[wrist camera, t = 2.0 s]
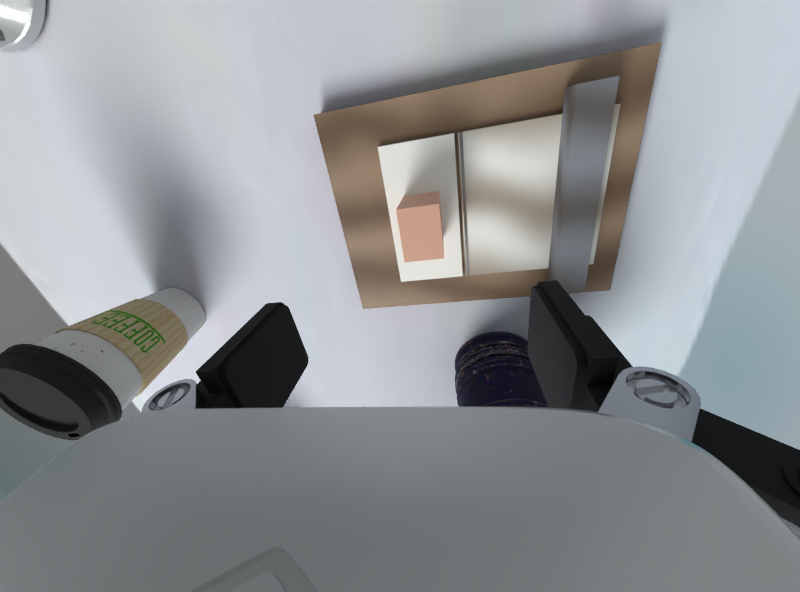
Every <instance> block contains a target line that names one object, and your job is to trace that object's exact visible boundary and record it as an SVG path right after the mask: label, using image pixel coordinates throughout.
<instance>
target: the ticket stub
mask: <svg viewBox="0 0 800 592" xmlns="http://www.w3.org/2000/svg"><path fill="white" fill-rule="evenodd" d="M378 153H379V158H380V164H381V170H382V176H383V181H384V187H385V193H386V199H387V204H388V210H389V216H390V222H391V227H392V233H393V239H394V245H395V250H396V256H397V262H398V268H399V273H400V279H401V282H405V281H416V280H427V279H438V278H449V277H460V276H463V271H462V255H461V238H460V222H459V206H458V189H457V173H456V156H455V140H454V133H453V134H447V135H442V136H436V137H431V138H425V139H419V140H414V141H408V142H403V143H397V144H391V145H386V146H380V147H378Z"/></svg>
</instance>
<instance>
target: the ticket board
mask: <svg viewBox="0 0 800 592" xmlns="http://www.w3.org/2000/svg"><path fill="white" fill-rule="evenodd" d="M661 43H662V42H661ZM661 43H656V44H651V45H646V46H641V47H637V48H632V49H627V50H622V51H617V52H613V53H608V54H603V55H598V56H593V57H589V58H584V59H579V60H574V61H569V62H565V63H560V64H555V65H550V66H545V67H541V68H536V69H531V70H526V71H522V72H517V73H512V74H507V75H502V76H498V77H493V78H488V79H483V80H478V81H474V82H469V83H464V84H459V85H454V86H450V87H445V88H440V89H435V90H430V91H426V92H421V93H416V94H411V95H406V96H402V97H397V98H392V99H387V100H382V101H378V102H373V103H368V104H363V105H358V106H354V107H349V108H344V109H339V110H334V111H330V112H325V113H320V114H315V115H314V118H315V122H316V126H317V130H318V134H319V138H320V142H321V146H322V150H323V153H324V157H325V161H326V165H327V169H328V173H329V177H330V181H331V185H332V189H333V193H334V197H335V201H336V204H337V208H338V212H339V216H340V220H341V224H342V228H343V232H344V236H345V240H346V244H347V248H348V251H349V255H350V259H351V263H352V267H353V271H354V275H355V279H356V283H357V287H358V291H359V295H360V299H361V302H362V306H363V309H365V308H379V307H392V306H405V305H418V304H432V303H445V302H458V301H471V300H485V299H498V298H511V297H524V296H531V288H532V286H537V283H538V282H540V281H552V280H557V281H558V282H559V283H560V285H561V286H562V287H563V288H564V290H565V291H566V292H567V293H577V292H591V291H604V290H610V287H611V282H612V277H613V273H614V268H615V263H616V258H617V254H618V249H619V244H620V239H621V234H622V230H623V225H624V220H625V215H626V210H627V206H628V201H629V196H630V191H631V186H632V182H633V177H634V172H635V167H636V162H637V158H638V153H639V148H640V143H641V139H642V134H643V129H644V124H645V119H646V115H647V110H648V105H649V100H650V95H651V91H652V86H653V81H654V76H655V71H656V67H657V62H658V57H659V52H660V47H661ZM453 133H454V140H455V156H456V173H457V189H458V206H459V222H460V238H461V255H462V271H463V276H460V277H449V278H438V279H427V280H416V281H405V282H401V279H400V273H399V268H398V262H397V256H396V250H395V245H394V239H393V233H392V227H391V222H390V216H389V210H388V204H387V199H386V193H385V187H384V181H383V176H382V170H381V164H380V158H379V153H378V147H380V146H386V145H391V144H397V143H403V142H408V141H414V140H419V139H425V138H431V137H436V136H442V135H447V134H453Z"/></svg>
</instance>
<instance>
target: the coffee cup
mask: <svg viewBox="0 0 800 592" xmlns="http://www.w3.org/2000/svg"><path fill="white" fill-rule="evenodd" d="M205 320H206V315H205V312H204V309H203V307H202V306H201V304H200V303H199V302H198V301H197V300H196V299H195V298H194V297H193V296H192V295H190V294H189V293H187V292H185V291H183V290H180V289H177V288H165V289H163V290H161V291H158V292H156V293H153V294H151V295H148V296H146V297H144V298H141V299H136V300H133V301H130V302H128V303H125V304H123V305H120V306H118V307H115V308H113V309H111V310H108V311H106V312H103V313H101V314H98V315H96V316H93V317H91V318H88V319H86V320H83V321H81V322H78V323H76V324H73V325H71V326H68V327H66V328H64V329H61V330H59V331H57V332H56V333H55V334H54V335H52V336H49V337H47V338H44V339H42V340H40V341H37V342H35V343H32V344H19V345H14V346H11V347H9V348H8V349H6V350H5V351H4V352H2V353H1V354H0V408H1V409H3V410H4V411H5V412H6V413H8V414H9V415H11V416H12V417H13V418H15V419H17V420H18V421H20V422H22V423H23V424H25V425H27V426H29V427H31V428H33V429H35V430H37V431H39V432H42V433H45V434H47V435H50V436H53V437H57V438H62V439H67V440H78V439H80V438H81V437H83V436H85V435H86V434H88V433H90V432H92V431H94V430H96V429H98V428H101V427H103V426H105V425H108V424H110V423H113V422H116V421H119V420H120V418H121V416H122V410H123V409H124V408H125V407H126V406H127V405H128V404H129V403H130V402H131V401H132V400H133V398H134V397H135V396H137V395H139V394H140V393H142V392H143V390H144V389H145V388H146V387H147V386H148V385H149V384H150V383H151V382H152V381H153V380H154V379H155V378H156V377H157V375H158V374H159V373H160V372H161V371H162V370H163V369H164V368H165V367H166V366H167V365H168V364H169V363H170V362H171V361H172V359H173V358H174V357H175V356H176V355H177V354H178V353H179V352H180V351H181V350H182V349H183V348H184V347H185V345H186V344H187V342H188V341H189V340H190V339H191V338H192V336H193V335H194V334H195V333H196V332H197V331H198V330H199V329H200V328H201V327H202V326H203V325H204V323H205Z"/></svg>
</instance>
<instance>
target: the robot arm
mask: <svg viewBox="0 0 800 592" xmlns="http://www.w3.org/2000/svg"><path fill="white" fill-rule="evenodd" d="M45 7H46V0H0V50H2V51H17V50H21V49H24V48H26V47H27V46H29V45H31V44H32V43H33V42H34V41H35V39H36V38H37V37H38V35H39V34H40V32H41V29H42V26H43V23H44V19H45ZM528 356H529V359H530V361H531V364H532V366H533V369H534V371H535V374H536V376H537V379H538V382H539V384H540V387H541V389H542V392H543V394H544V397H545V399H546V402H547V404H548V407H549V408H542V407H284V408H283V406H284V404H285V402H286V401H287V399H288V397H289V396H290V394H291V392H292V391H293V389H294V387H295V385H296V384H297V382H298V380H299V379H300V377H301V375H302V373H303V372H304V370H305V368H306V367H307V364H308V356H307V353H306V350H305V348H304V345H303V343H302V340H301V338H300V335H299V333H298V330H297V327H296V325H295V322H294V320H293V317H292V315H291V312H290V310H289V308H288V306H286V305H284V304H283V303H282V302H279V303H267V304H266V305H265V306H264V307H263V308H262V309H260V310H259V311H258V312H257V313H256V314H255V315H254V316H253V317H252V318H251V319H250V320H249V321H248V322H247V323H246V324H245V325H244V326H243V327H242V328H241V329H240V330H239V331H238V332H237V333H236V334H235V335H233V336H232V337H231V338H230V339H229V340H228V341H227V342H226V343H225V344H224V345H223V346H222V347H221V348H220V349H219V350H218V351H217V352H216V353H215V354H214V355H213V356H212V357H211V358H210V359H209V360H207V361H206V362H205V363H204V364H203V365H202V366H201V367H200V368H199V369H198V370H197V371H196V373H197V375H198V376H199V378H200V380H201V381H200V382H199V383H198V384H196V382H195V381H194V380H192V379H185V380H180V381H177V382H174V383H171V384H169V385H167V386H165V387H164V388H162V389H160V390H159V391H157V392H156V393H155V394H154V395H152V396H151V397H150V398H149V399H148V400H147V401H146V403H145V404H144V406H143V408H142V412H141V415H137V416H132V417H129V418H125V419H122V420H119V421H116V422H113V423H110V424H108V425H105V426H103V427H101V428H98V429H96V430H94V431H92V432H90V433H88V434H86V435H85V436H83V437H81V438H80V439H78V440H77V441H76V442H74V443H73V444H71V445H70V446H69V447H67V448H66V449H65V450H64V451H63V452H61V453H60V454H59V455H57V456H56V457H55V458H53V459H52V460H51V461H50V462H49V463H47V464H46V465H45V466H43V467H42V468H41V469H40V470H38V472H36V473H35V474H34V475H32V476H31V477H30V478H29V479H27V480H26V481H25V482H24V483H23V484H21V485H20V486H19V487H18V488H16V489H15V490H14V491H13V492H12V493H10V494H9V495H8V496H7V497H6V498H5V499H3V500H2V501H1V502H0V592H800V450H798V449H795V448H793V447H791V446H788V445H786V444H784V443H781V442H779V441H776V440H774V439H772V438H769V437H767V436H765V435H762V434H760V433H757V432H755V431H753V430H750V429H748V428H745V427H743V426H741V425H738V424H736V423H733V422H731V421H729V420H726V419H724V418H721V417H719V416H717V415H714V414H712V413H710V412H707V411H705V410H702V409H700V406H701V401H700V396H699V395H698V393H697V392H696V390H695V389H694V388H693V387H692V386H690V385H689V384H688V383H687V382H686V381H684V380H682V379H681V378H679V377H677V376H675V375H673V374H671V373H668V372H666V371H663V370H659V369H655V368H650V367H632V366H631V364H630V363H629V362H628V361H627V359H626V358H625V357H624V356H623V355H622V353H621V352H620V351H619V350H618V349H617V347H616V346H615V345H614V344H613V343H612V341H611V340H610V339H609V338H608V336H607V335H606V334H605V333H604V332H603V330H602V329H601V328H600V327H599V326H598V324H597V323H596V322H595V321H594V319H593V318H591V317H590V316H585V315H584V314H583V312H582V311H581V310H580V309H579V307H578V306H577V305H576V304H575V302H574V301H573V300H572V299H571V297H570V296H569V295H568V293H567V292H566V291H565V290H564V288H563V287H562V286H561V285H560V283H559V282H558V281H557V280H552V281H540V282H538V283H537V286H532V288H531V300H530V316H529V332H528Z"/></svg>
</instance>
